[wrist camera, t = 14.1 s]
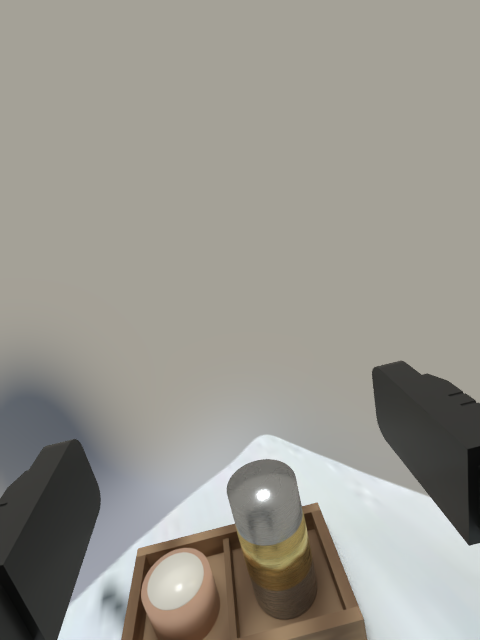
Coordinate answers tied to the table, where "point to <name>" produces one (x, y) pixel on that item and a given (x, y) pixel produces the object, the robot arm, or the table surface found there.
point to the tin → (273, 537)
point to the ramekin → (181, 596)
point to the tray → (238, 595)
